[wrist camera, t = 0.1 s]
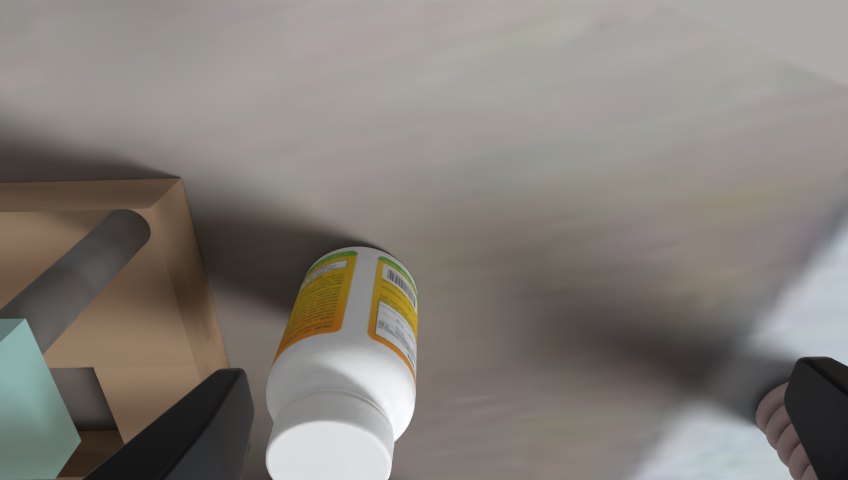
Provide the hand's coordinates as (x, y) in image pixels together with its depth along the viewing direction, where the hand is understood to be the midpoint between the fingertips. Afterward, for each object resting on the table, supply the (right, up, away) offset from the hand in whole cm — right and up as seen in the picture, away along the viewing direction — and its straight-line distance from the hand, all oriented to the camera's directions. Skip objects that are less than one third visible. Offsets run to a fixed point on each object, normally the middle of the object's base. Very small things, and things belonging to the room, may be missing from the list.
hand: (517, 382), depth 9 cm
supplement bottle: (-5, 0, +17) cm, 18 cm away
